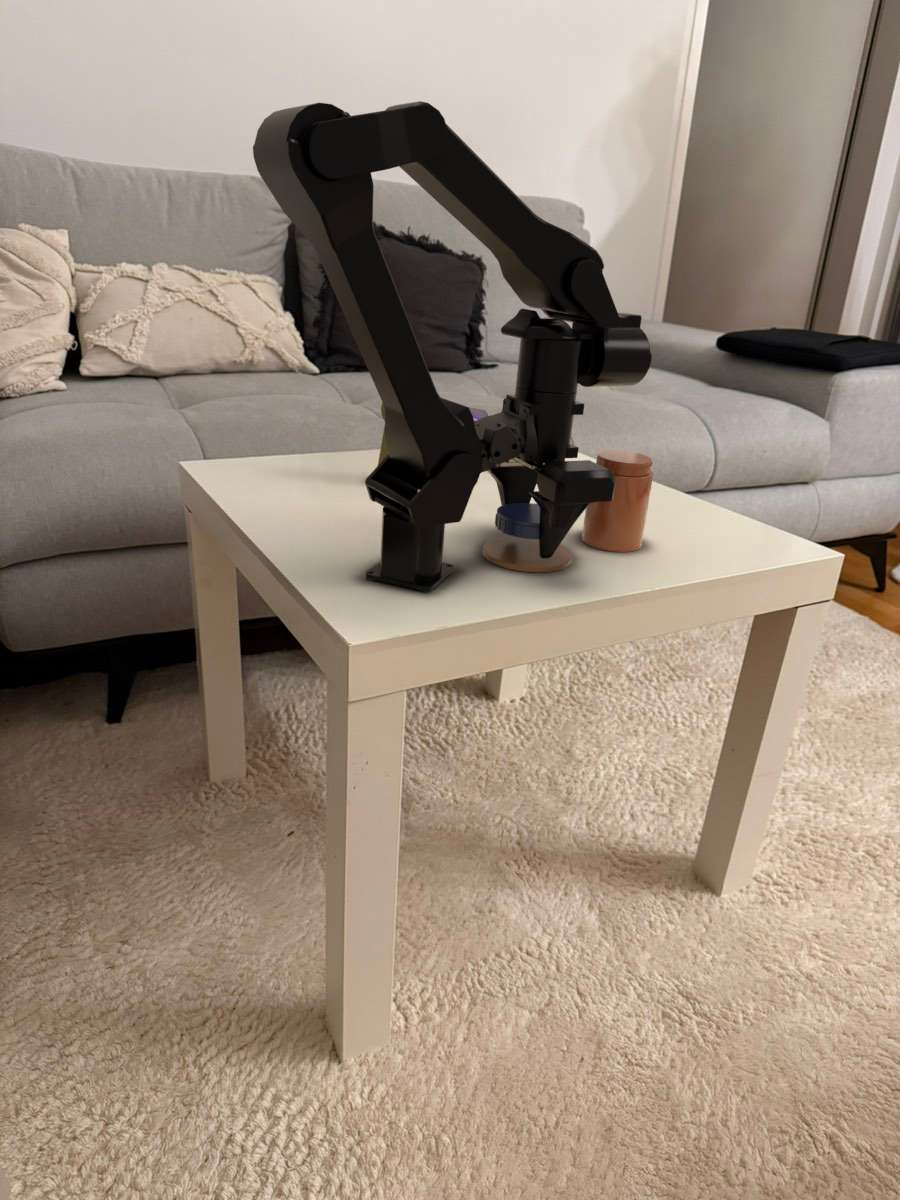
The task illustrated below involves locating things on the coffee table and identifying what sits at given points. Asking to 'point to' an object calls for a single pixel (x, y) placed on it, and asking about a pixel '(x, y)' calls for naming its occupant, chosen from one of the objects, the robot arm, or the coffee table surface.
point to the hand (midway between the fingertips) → (528, 545)
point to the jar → (620, 503)
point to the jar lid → (519, 520)
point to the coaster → (524, 555)
